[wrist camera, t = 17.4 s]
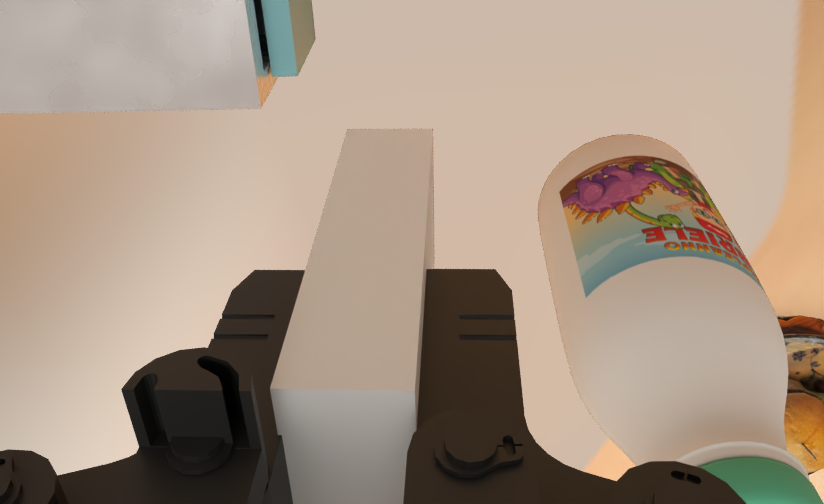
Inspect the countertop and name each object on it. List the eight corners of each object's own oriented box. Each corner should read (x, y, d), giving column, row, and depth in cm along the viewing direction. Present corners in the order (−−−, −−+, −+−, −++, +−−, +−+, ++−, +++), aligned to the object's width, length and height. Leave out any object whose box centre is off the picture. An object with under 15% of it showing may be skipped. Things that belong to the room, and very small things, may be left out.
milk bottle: (657, 280, 40) (809, 657, 23) (515, 248, 39) (566, 613, 22) (723, 150, 36) (967, 493, 19) (567, 111, 35) (677, 432, 18)
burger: (638, 456, 47) (668, 562, 41) (688, 304, 41) (732, 402, 35) (830, 470, 47) (889, 579, 41) (910, 321, 41) (994, 421, 35)
